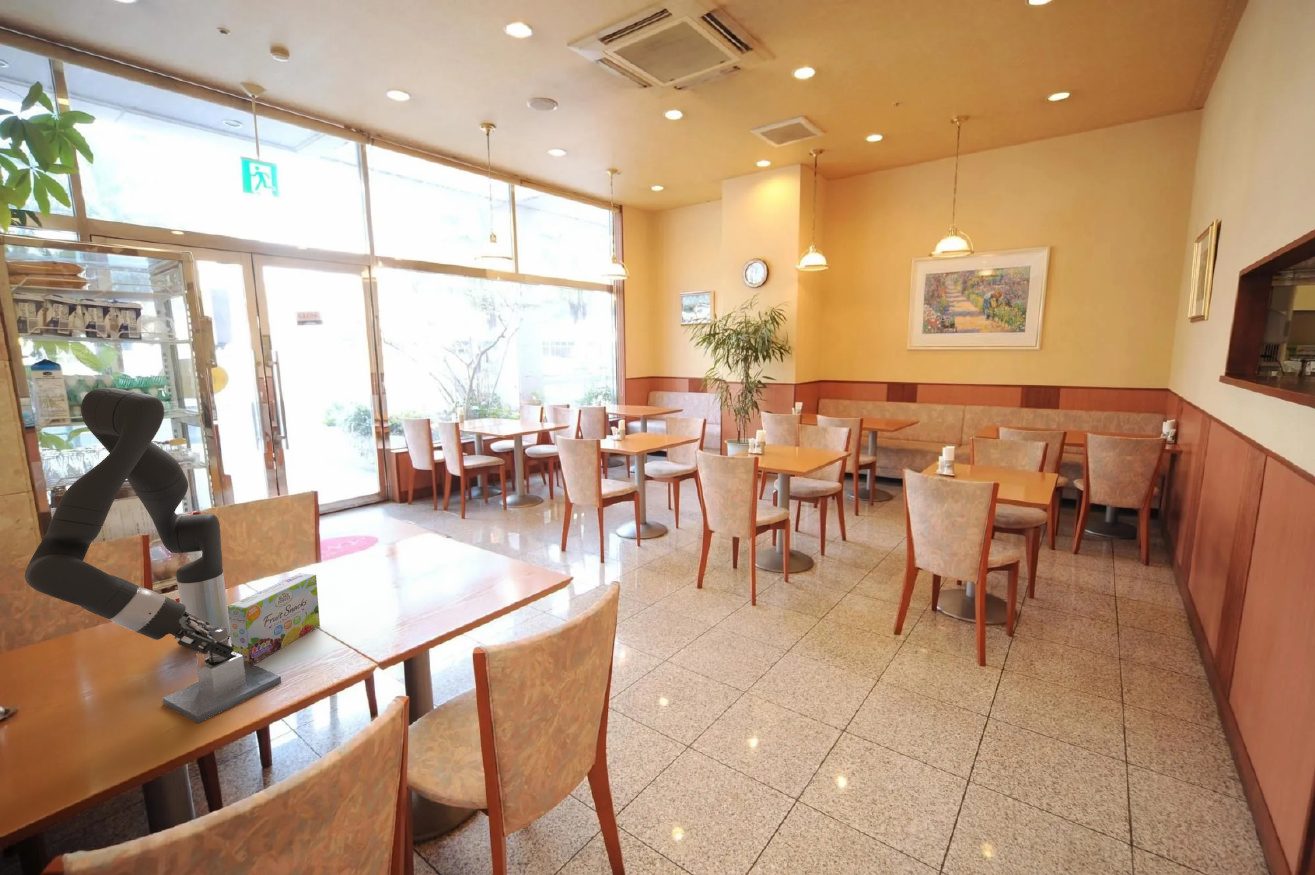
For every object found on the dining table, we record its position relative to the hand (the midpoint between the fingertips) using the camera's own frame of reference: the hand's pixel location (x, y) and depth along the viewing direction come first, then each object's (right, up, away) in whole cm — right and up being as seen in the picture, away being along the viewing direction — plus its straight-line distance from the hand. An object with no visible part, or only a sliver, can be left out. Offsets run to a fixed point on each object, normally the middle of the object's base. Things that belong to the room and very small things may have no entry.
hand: (228, 646), depth 123 cm
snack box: (-3, -7, +21) cm, 23 cm away
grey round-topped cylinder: (-1, -8, 0) cm, 8 cm away
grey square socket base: (-1, -10, 0) cm, 10 cm away
